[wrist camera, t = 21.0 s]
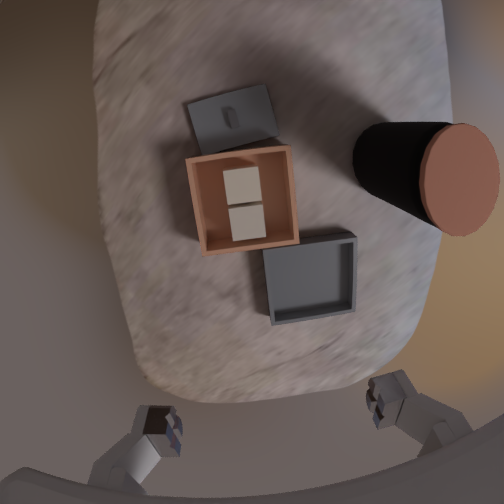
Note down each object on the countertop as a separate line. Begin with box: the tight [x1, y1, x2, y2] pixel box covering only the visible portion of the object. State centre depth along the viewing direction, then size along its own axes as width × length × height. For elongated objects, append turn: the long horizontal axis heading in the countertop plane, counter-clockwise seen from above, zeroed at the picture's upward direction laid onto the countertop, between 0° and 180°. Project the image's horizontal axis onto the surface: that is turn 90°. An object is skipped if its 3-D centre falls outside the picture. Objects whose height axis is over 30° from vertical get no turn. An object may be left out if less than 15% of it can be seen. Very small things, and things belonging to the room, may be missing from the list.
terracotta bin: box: [185, 144, 299, 256], centre depth 37 cm, size 12×12×4 cm
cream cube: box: [223, 164, 262, 205], centre depth 36 cm, size 4×4×4 cm
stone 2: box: [228, 201, 266, 241], centre depth 38 cm, size 4×4×4 cm
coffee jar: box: [353, 122, 500, 236], centre depth 30 cm, size 11×11×18 cm
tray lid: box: [187, 84, 280, 155], centre depth 35 cm, size 7×10×2 cm
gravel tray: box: [262, 232, 357, 326], centre depth 43 cm, size 12×13×2 cm
